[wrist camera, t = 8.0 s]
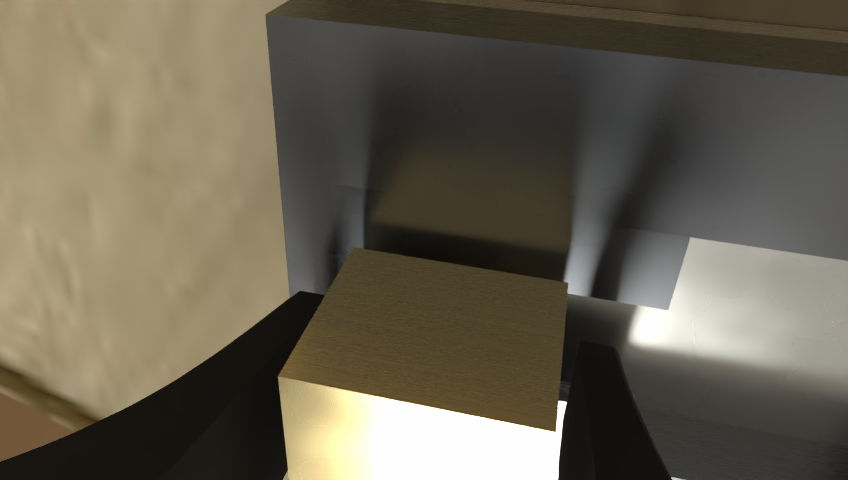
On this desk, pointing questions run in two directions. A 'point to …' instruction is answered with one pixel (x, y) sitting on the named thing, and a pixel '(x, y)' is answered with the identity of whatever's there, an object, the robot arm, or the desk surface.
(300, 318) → the robot arm
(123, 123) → the desk surface
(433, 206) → the keyhole plate
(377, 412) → the brass peg
